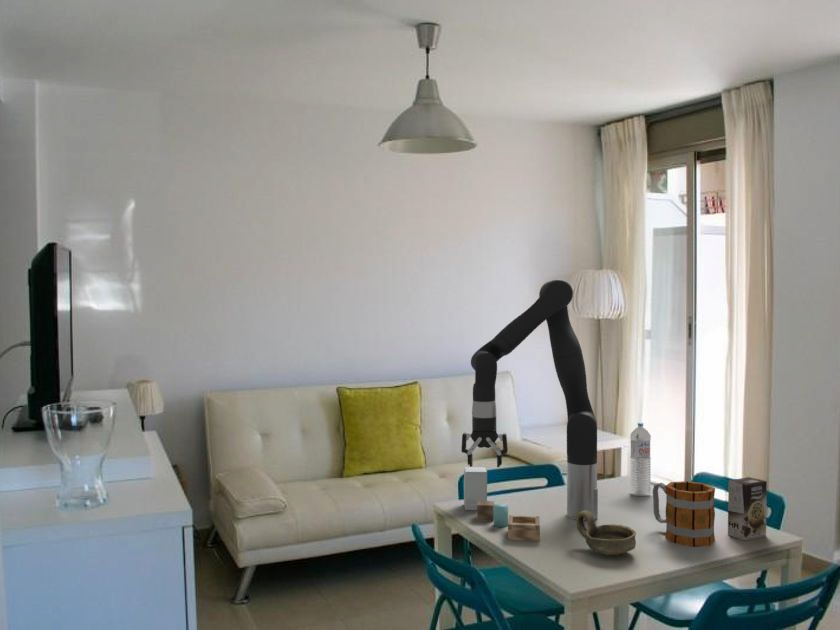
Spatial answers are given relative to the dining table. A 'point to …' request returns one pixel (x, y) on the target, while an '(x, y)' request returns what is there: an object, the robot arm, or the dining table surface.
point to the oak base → (524, 528)
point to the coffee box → (747, 508)
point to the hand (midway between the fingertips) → (484, 466)
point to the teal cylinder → (500, 515)
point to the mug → (687, 512)
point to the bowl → (606, 536)
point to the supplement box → (474, 486)
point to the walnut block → (485, 510)
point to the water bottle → (640, 462)
